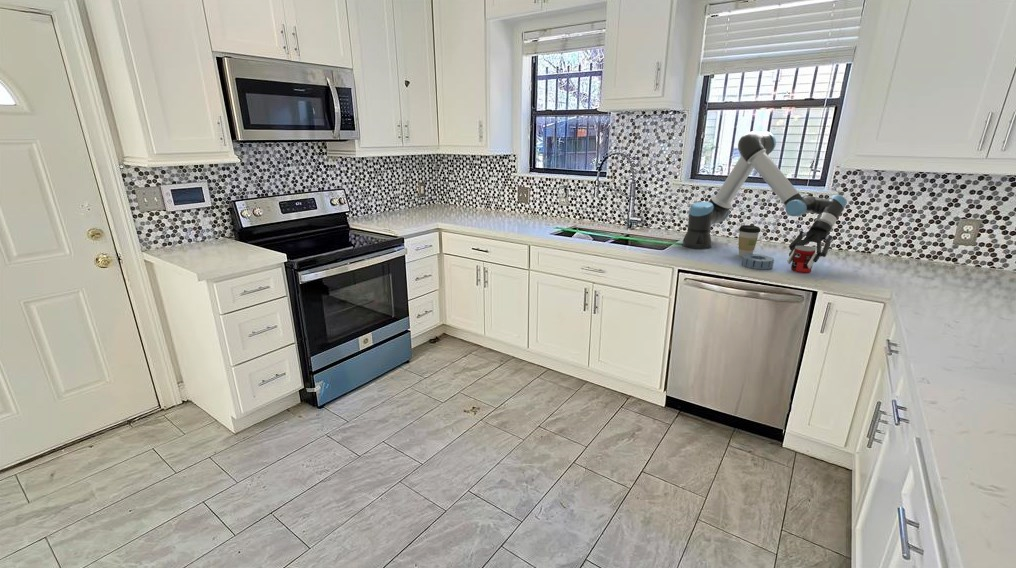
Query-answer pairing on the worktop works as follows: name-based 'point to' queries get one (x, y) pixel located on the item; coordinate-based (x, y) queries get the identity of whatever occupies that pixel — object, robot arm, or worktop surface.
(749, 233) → the coffee cup
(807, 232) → the robot arm
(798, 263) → the canned food
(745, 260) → the grey notched ring
